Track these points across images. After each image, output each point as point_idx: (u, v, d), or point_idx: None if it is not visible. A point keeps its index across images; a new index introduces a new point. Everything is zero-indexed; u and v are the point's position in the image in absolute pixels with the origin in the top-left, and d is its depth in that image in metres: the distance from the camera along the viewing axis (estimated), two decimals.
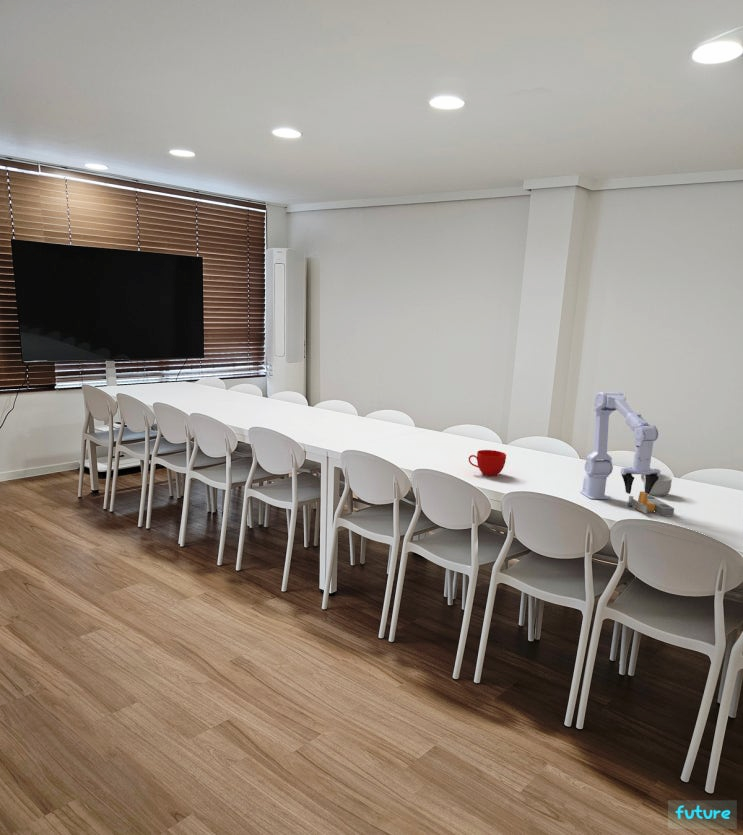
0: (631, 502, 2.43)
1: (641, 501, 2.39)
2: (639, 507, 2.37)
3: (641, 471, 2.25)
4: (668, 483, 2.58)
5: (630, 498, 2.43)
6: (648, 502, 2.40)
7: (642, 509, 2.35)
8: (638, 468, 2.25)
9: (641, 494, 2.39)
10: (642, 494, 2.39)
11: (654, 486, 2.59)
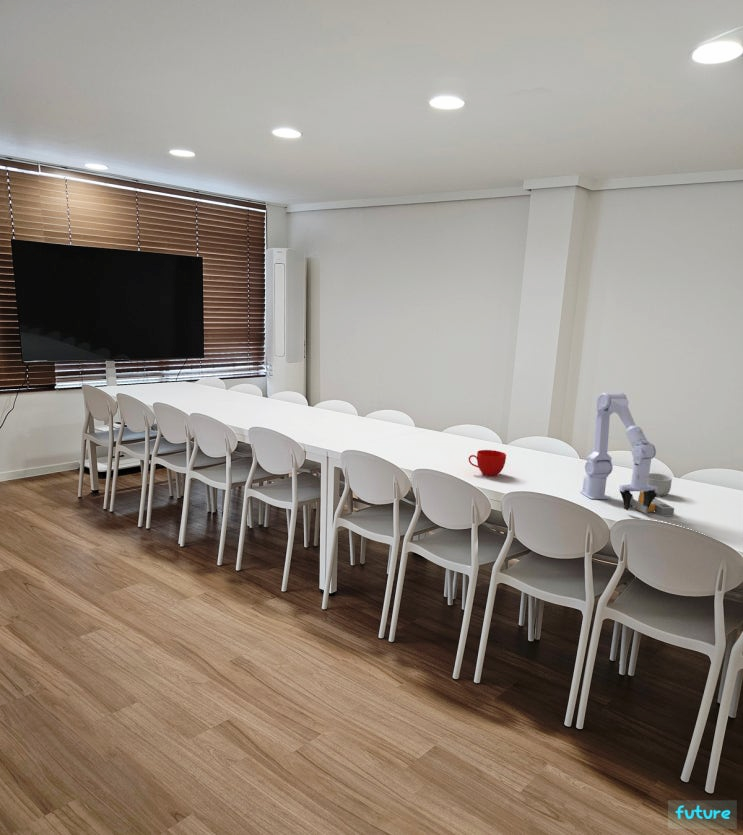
0: (631, 502, 2.43)
1: (641, 501, 2.39)
2: (639, 507, 2.37)
3: (639, 488, 2.30)
4: (668, 483, 2.58)
5: None
6: None
7: (642, 509, 2.35)
8: (636, 485, 2.31)
9: (641, 494, 2.39)
10: (642, 494, 2.39)
11: None
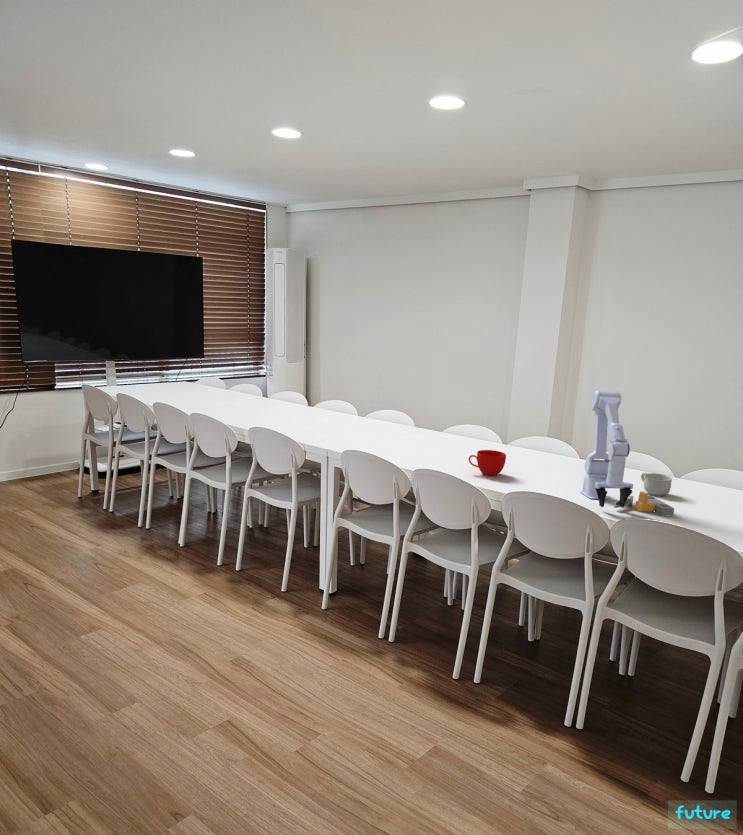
0: None
1: (641, 501, 2.39)
2: None
3: (614, 485, 2.32)
4: (668, 483, 2.58)
5: (629, 497, 2.44)
6: (648, 502, 2.40)
7: None
8: (611, 482, 2.33)
9: (641, 494, 2.39)
10: (642, 494, 2.39)
11: (654, 486, 2.59)
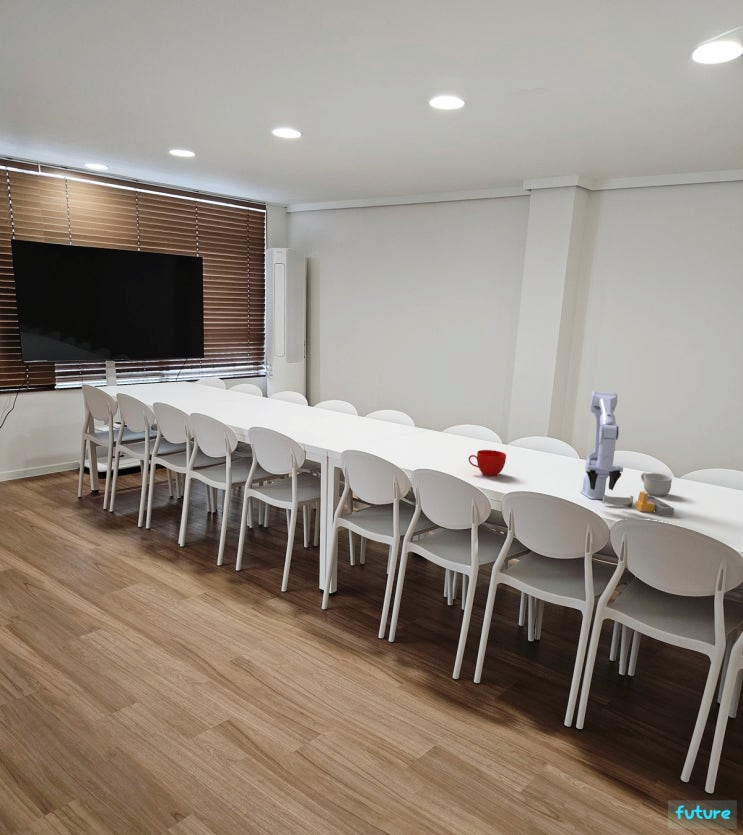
0: None
1: (641, 501, 2.39)
2: None
3: (604, 468, 2.36)
4: (668, 483, 2.58)
5: None
6: (648, 502, 2.40)
7: None
8: (601, 465, 2.36)
9: (641, 494, 2.39)
10: (642, 494, 2.39)
11: (654, 486, 2.59)
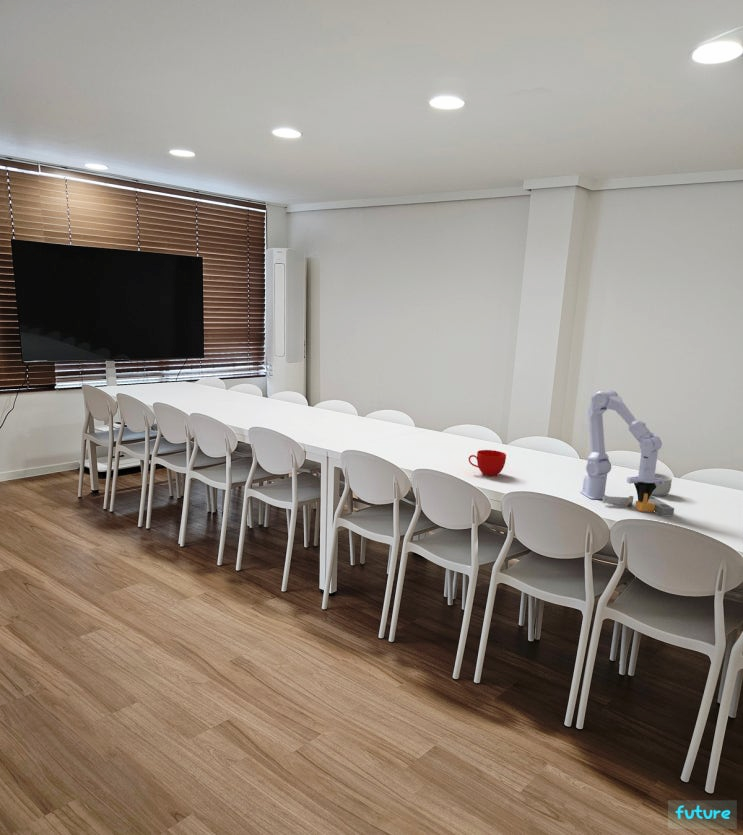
0: None
1: None
2: None
3: (646, 480, 2.35)
4: (668, 483, 2.58)
5: None
6: (648, 502, 2.40)
7: None
8: (643, 477, 2.36)
9: None
10: None
11: None
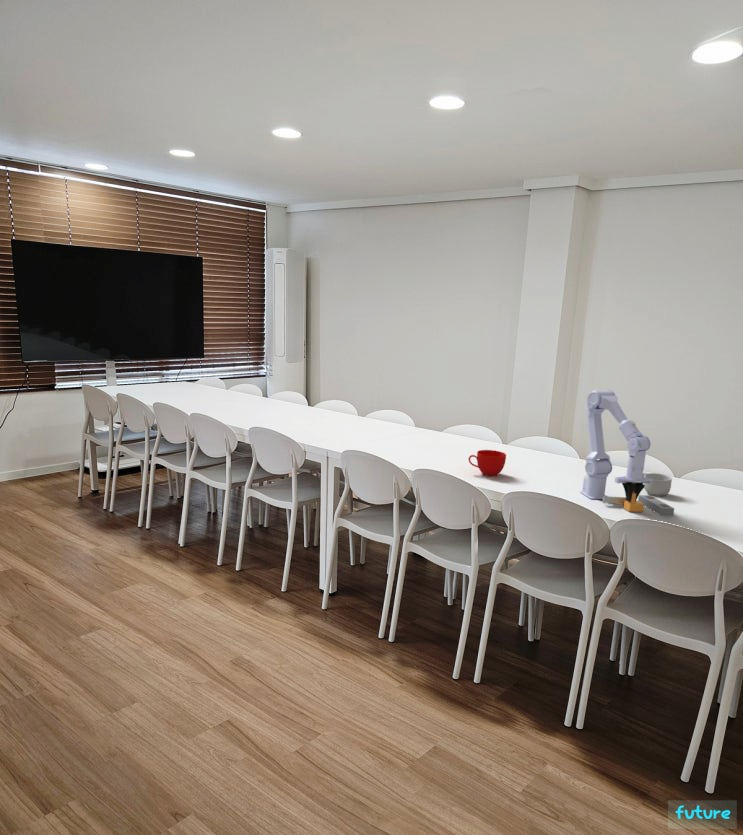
0: None
1: None
2: None
3: (634, 480, 2.34)
4: (668, 483, 2.58)
5: None
6: (636, 502, 2.40)
7: None
8: (631, 477, 2.35)
9: None
10: None
11: (654, 486, 2.59)
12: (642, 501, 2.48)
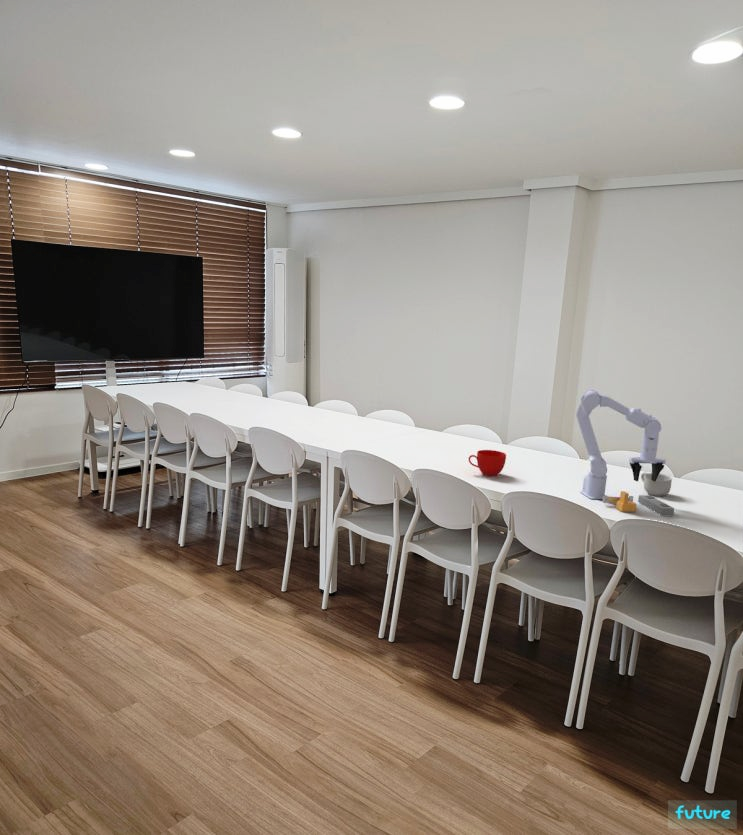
0: None
1: (622, 501, 2.38)
2: None
3: (648, 460, 2.44)
4: (668, 483, 2.58)
5: None
6: (629, 502, 2.39)
7: None
8: (645, 457, 2.44)
9: (622, 494, 2.38)
10: (623, 494, 2.37)
11: (654, 486, 2.59)
12: (642, 501, 2.48)
